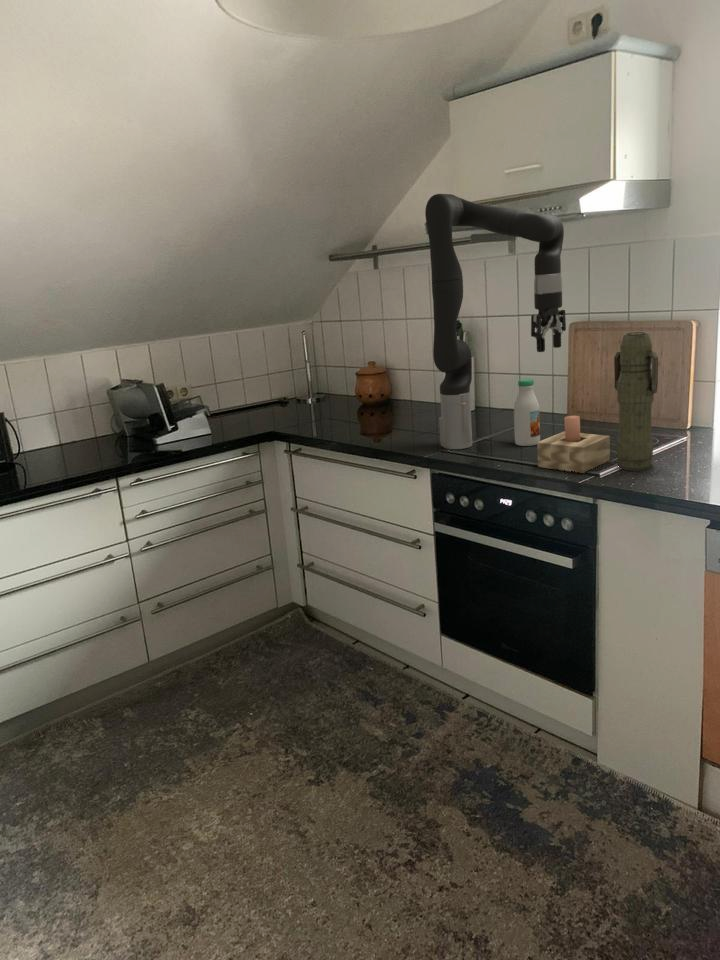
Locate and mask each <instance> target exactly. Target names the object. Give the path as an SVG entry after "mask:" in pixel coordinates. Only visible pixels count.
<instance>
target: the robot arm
mask: <svg viewBox="0 0 720 960" xmlns="http://www.w3.org/2000/svg"><path fill="white" fill-rule="evenodd" d="M424 214H425V216H424V217H425V222H426V230H427V236H428V243H429V251H430V253H429V254H430V269H431V293H432V294H431V295H432V305H433V306H432V307H433V311H432V312H433V349H432V350H433V351H432V355H433V356H432V358H433V362H434V364H435V367H436V369H438V371H440V372H442V373H444V374H445V375H444V378H443V380H442V382H441V383H440V385H439V397H440V399H439V400H440V412H441V413H440V414H441V416H439V418H438V423H439V438H440V439H439V441H440V447H443V448H444V449H447V450H463V449H468V448H471V447H472V446H473V433H472V432H473V431H472V430H473V429H472V428H473V427H472V408H471V383H472V379H473V378H472V377H473V372H472V370H473V367H472V366H473V364H472V363H473V362H472V360H473V359H472V351H471V348H470V346H469V345H468V343H467V342H466V341H464V340H462V339H459V338H458V339H457V323H458V318H459V314H460V311H461V308H462V303H463V300H464V279H463V277H464V276H463V271H462V270H463V269H462V267H461V264H460V261H459V259H458V256H457V254H456V251H455V248H454V247H455V246H454V243H453V227H473V228H479V229H482V230H486V231H489V232H491V233H494V234H498V235H503V236H510V237H516V238H521V239H525V240H528V241H532V242H536V243H538V244H539V245H538V252H537V253H536V255H535V256H534V281H533V293H534V294H533V296H534V297H533V298H534V309H535V310H537V311H538V313H537V314H532V315H531V316H530V317H531V319H530V337H533V338H535V340H536V352H537V353H545V351H546V338H545V337H546V333H547V332H549V330H551V331H552V332H551V333H553V334H552V346H553V348H555V349H557V348H558V349H559V348H561V347H562V335H563V332H565V331H566V330H567V326H566V325H567V323H566V310H565V309H560V308H563V280H562V267H561V266H562V265H561V264H562V263H561V262H562V261H561V253H562V250H563V249H562V248H563V242H564V234H565V231H564V224H563V221H562V220H561V218H560V217H559V216H556V215H555V214H551V215H550V214H549V215H548V214H545V215H544V214H537V213H531V212H529V213H528V212H526V211H523V210H520V209H514V208H510V207H509V208H507V207H501V206H500V207H499V206H491V205H484V204H481V203H480V204H479V203H474V202H472V201H469V200H466V199H464V198H461V197H460V196H456V195H454V194H451V193H435V194H433V195H432V196H430V198H429V199H428V200H427V202H426V206H425V211H424Z"/></svg>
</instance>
